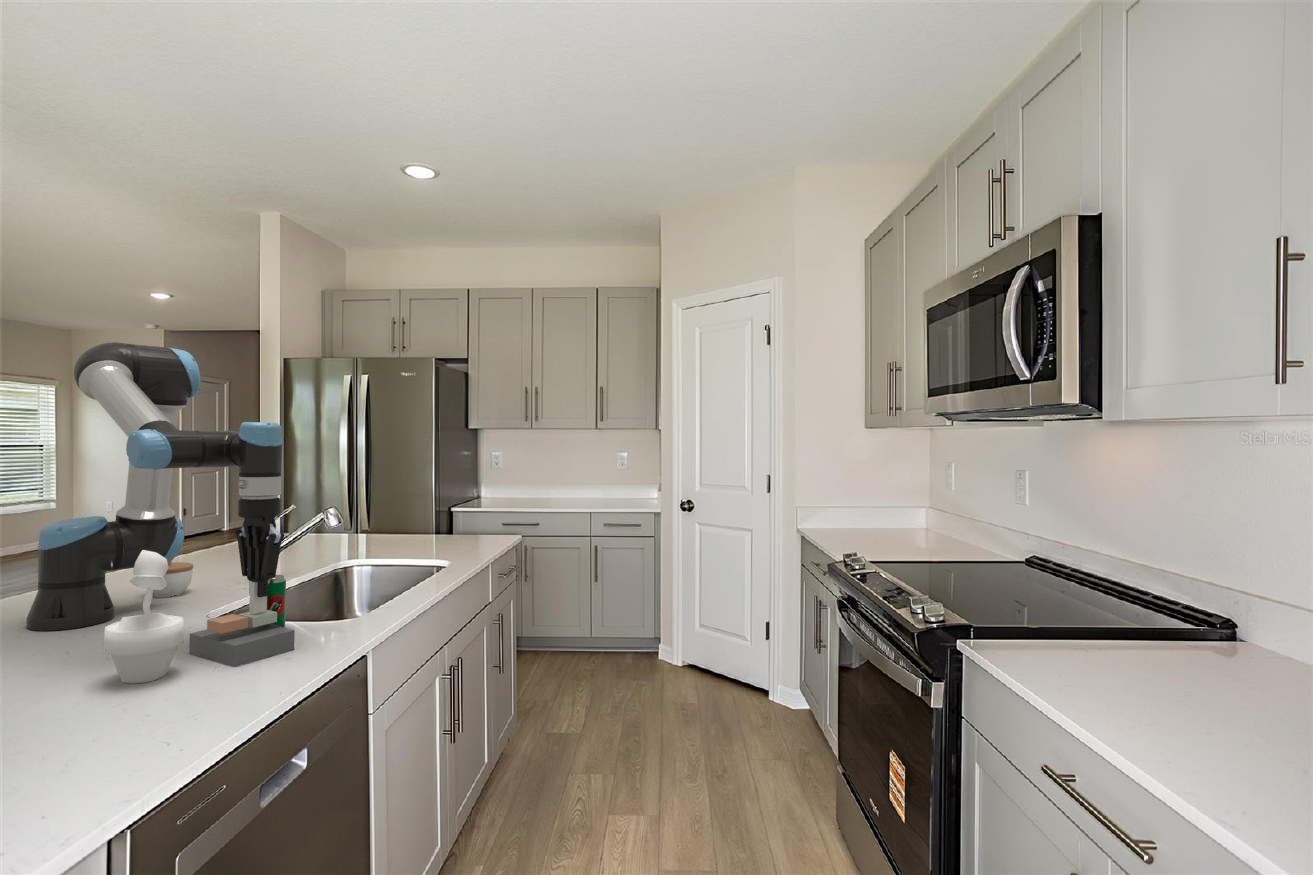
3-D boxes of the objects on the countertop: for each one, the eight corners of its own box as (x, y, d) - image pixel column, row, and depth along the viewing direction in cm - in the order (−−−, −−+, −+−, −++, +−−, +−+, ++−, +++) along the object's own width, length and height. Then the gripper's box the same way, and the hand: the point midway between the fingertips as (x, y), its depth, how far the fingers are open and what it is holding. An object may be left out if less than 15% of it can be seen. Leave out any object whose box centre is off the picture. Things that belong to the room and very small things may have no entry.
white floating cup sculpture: (113, 671, 123) (116, 535, 123) (190, 663, 128) (192, 532, 128) (89, 696, 112) (91, 545, 112) (173, 687, 116) (176, 542, 116)
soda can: (290, 627, 153) (291, 574, 153) (275, 634, 148) (276, 579, 148) (269, 626, 153) (270, 573, 153) (253, 633, 148) (254, 578, 148)
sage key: (237, 624, 137) (238, 614, 137) (262, 618, 142) (262, 608, 142) (252, 627, 135) (253, 617, 135) (276, 621, 139) (277, 612, 139)
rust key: (206, 629, 132) (207, 619, 132) (233, 623, 136) (233, 613, 136) (221, 633, 130) (222, 623, 130) (247, 627, 134) (248, 617, 134)
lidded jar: (202, 592, 184) (202, 558, 184) (161, 601, 174) (161, 565, 174) (175, 588, 188) (175, 555, 188) (133, 597, 178) (134, 561, 178)
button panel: (189, 653, 134) (189, 632, 134) (249, 638, 144) (249, 618, 144) (234, 666, 127) (234, 644, 127) (294, 649, 137) (294, 629, 137)
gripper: (222, 496, 138) (220, 611, 138) (261, 500, 132) (259, 620, 132) (258, 494, 145) (256, 604, 145) (297, 497, 139) (295, 612, 138)
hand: (258, 612), depth 138 cm, fingers closed
